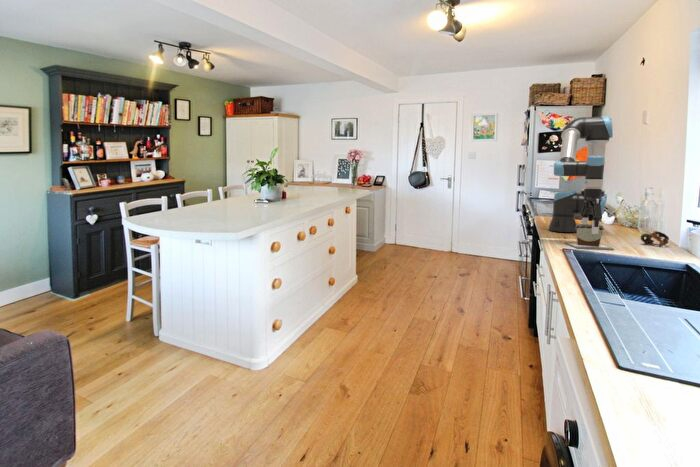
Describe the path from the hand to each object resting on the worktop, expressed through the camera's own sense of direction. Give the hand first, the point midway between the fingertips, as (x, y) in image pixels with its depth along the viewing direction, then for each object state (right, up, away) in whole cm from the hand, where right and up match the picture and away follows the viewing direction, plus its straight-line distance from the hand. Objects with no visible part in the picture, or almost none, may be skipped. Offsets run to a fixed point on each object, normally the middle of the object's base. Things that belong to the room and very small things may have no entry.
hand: (589, 232), depth 209 cm
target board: (0, -7, +1) cm, 7 cm away
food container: (0, -7, 0) cm, 7 cm away
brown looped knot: (+36, -8, +10) cm, 38 cm away
